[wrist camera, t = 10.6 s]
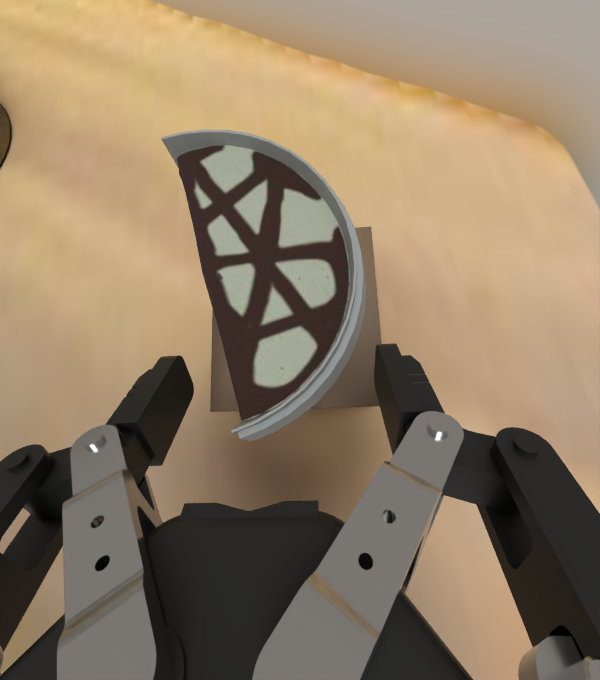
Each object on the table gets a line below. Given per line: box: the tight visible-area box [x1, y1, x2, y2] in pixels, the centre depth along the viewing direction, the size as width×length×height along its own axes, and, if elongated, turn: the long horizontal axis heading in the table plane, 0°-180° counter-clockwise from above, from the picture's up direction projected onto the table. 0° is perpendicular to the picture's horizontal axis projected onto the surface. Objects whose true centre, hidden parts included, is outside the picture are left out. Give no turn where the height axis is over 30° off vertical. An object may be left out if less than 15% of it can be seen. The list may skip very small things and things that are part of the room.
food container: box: [161, 130, 366, 441], centre depth 15 cm, size 12×6×10 cm, turn 17°
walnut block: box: [210, 227, 381, 412], centre depth 22 cm, size 11×12×5 cm
